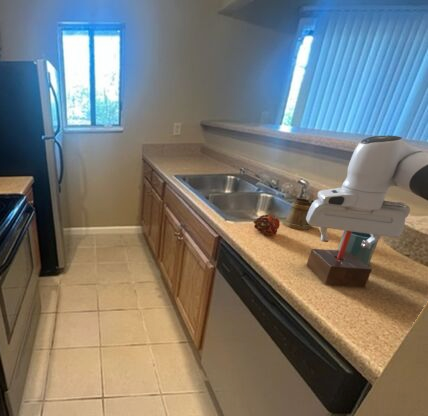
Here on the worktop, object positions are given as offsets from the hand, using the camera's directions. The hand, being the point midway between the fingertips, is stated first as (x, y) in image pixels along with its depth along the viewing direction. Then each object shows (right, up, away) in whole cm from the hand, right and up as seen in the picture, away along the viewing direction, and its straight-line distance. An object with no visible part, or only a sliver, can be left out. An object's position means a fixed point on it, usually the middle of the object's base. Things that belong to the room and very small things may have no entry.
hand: (344, 244), depth 78 cm
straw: (0, -10, +4) cm, 11 cm away
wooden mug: (+14, +2, +36) cm, 39 cm away
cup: (+13, -7, +12) cm, 19 cm away
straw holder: (0, -10, +4) cm, 11 cm away
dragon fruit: (-4, 0, +31) cm, 32 cm away
